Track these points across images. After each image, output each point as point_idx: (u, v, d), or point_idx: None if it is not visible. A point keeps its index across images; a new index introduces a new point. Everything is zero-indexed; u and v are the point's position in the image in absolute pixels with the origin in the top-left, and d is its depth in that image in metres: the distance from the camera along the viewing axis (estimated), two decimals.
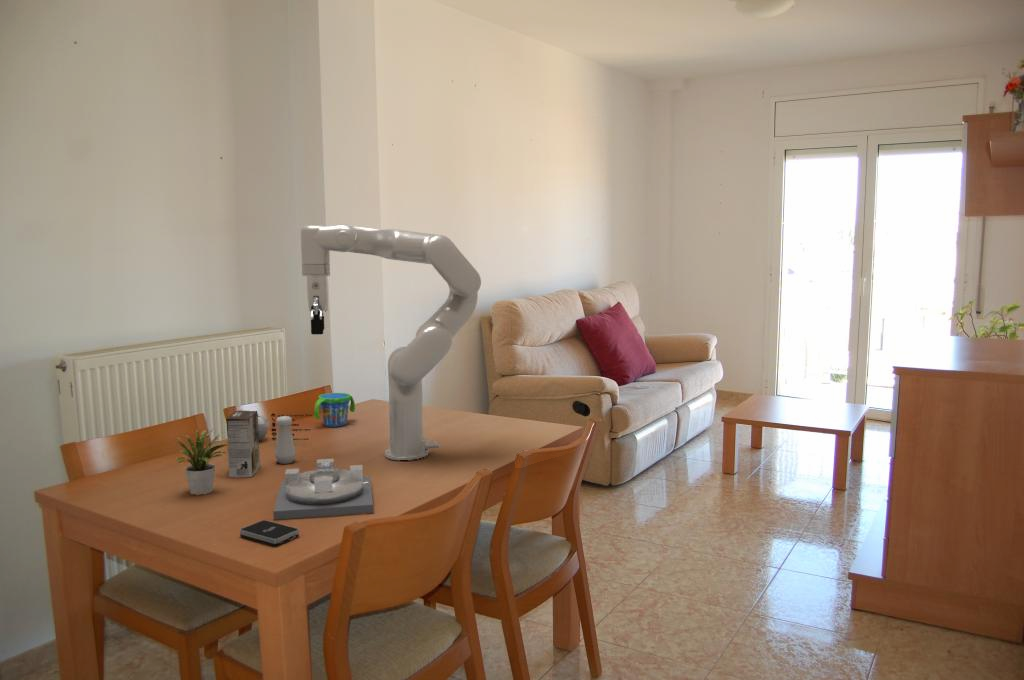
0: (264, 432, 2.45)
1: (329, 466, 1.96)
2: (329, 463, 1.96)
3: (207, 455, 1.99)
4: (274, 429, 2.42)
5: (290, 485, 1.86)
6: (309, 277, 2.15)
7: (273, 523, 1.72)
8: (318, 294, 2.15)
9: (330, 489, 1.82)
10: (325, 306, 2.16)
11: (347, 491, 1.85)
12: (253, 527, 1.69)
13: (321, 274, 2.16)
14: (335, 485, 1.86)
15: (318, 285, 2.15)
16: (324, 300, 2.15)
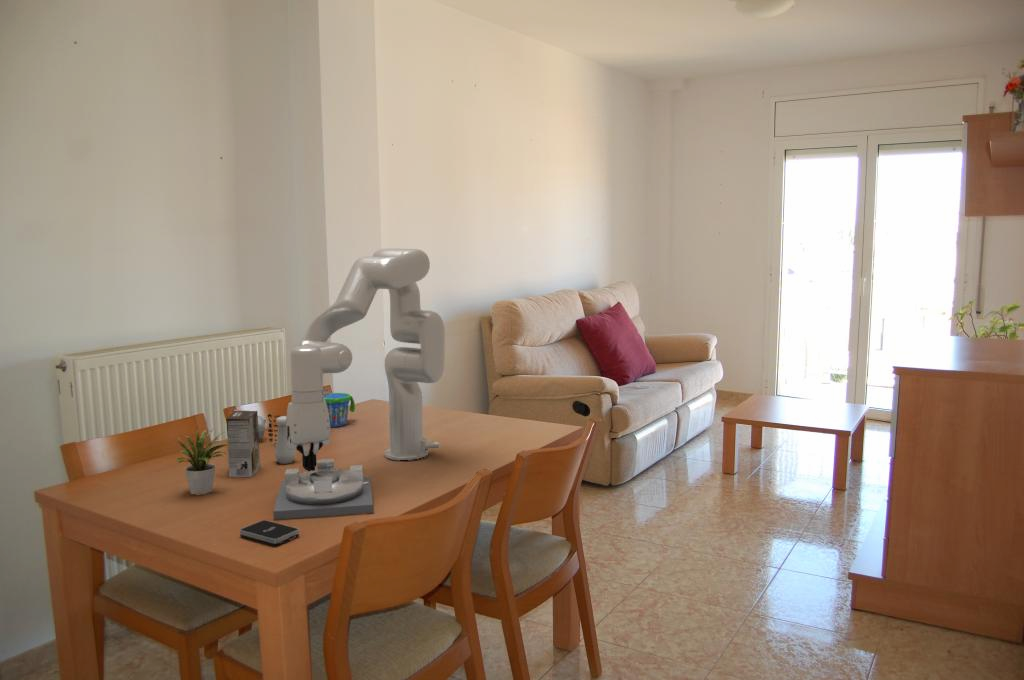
0: (262, 433, 2.44)
1: (330, 466, 1.96)
2: (329, 463, 1.96)
3: (207, 455, 1.99)
4: (271, 430, 2.41)
5: (290, 485, 1.87)
6: None
7: (273, 523, 1.72)
8: None
9: (330, 489, 1.82)
10: None
11: (346, 491, 1.84)
12: (253, 528, 1.69)
13: None
14: (334, 485, 1.86)
15: None
16: None
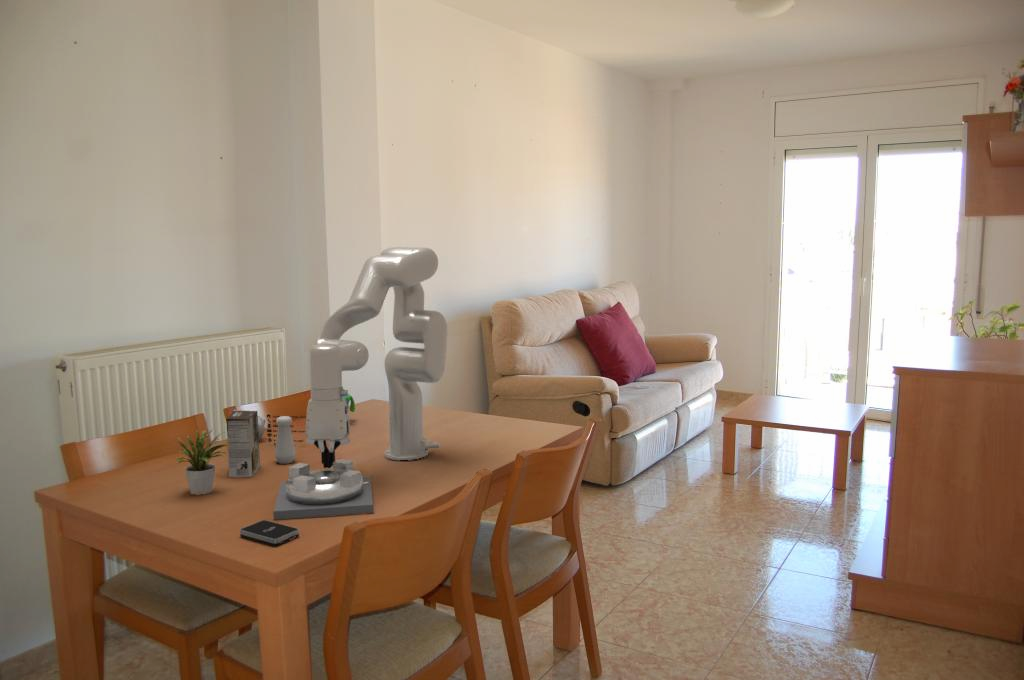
0: (261, 433, 2.44)
1: (343, 467, 1.95)
2: (342, 464, 1.95)
3: (207, 455, 1.99)
4: (269, 430, 2.40)
5: (292, 478, 1.91)
6: (340, 402, 1.94)
7: (273, 523, 1.72)
8: (347, 424, 1.97)
9: (305, 490, 1.82)
10: None
11: (323, 495, 1.82)
12: (253, 527, 1.69)
13: None
14: (320, 487, 1.85)
15: None
16: (349, 424, 1.98)
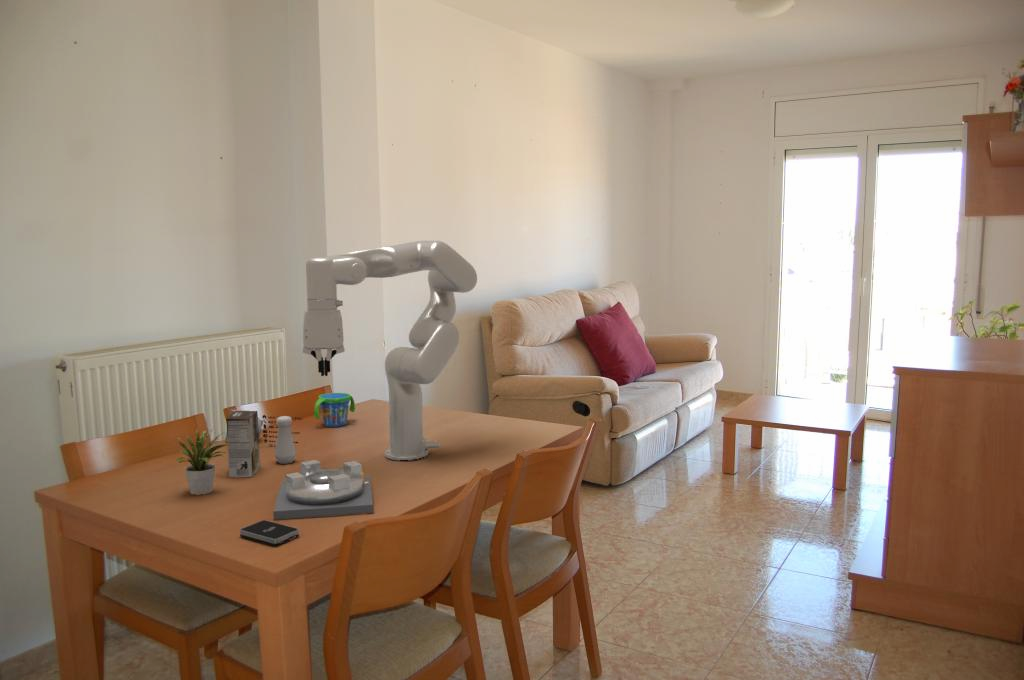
0: None
1: (349, 469, 1.93)
2: (349, 467, 1.93)
3: (207, 455, 1.99)
4: (265, 431, 2.39)
5: (301, 474, 1.95)
6: (338, 312, 2.05)
7: (273, 523, 1.72)
8: None
9: (291, 487, 1.84)
10: None
11: (305, 495, 1.82)
12: (253, 527, 1.69)
13: None
14: (309, 486, 1.85)
15: None
16: None
